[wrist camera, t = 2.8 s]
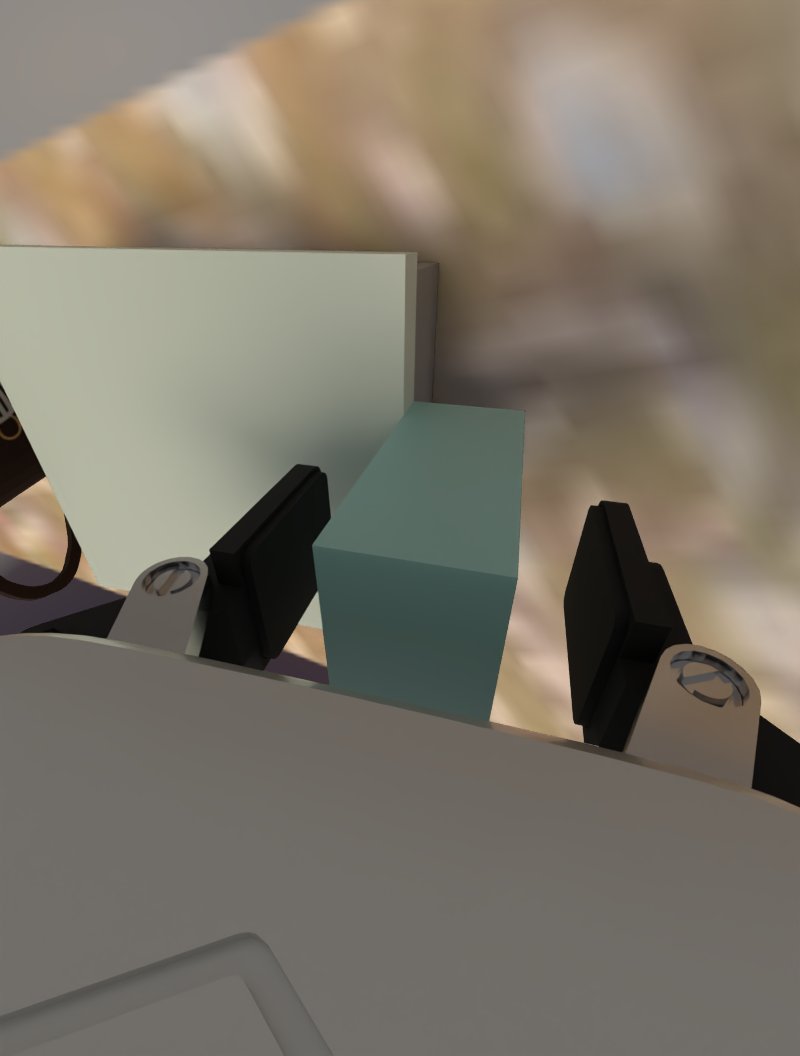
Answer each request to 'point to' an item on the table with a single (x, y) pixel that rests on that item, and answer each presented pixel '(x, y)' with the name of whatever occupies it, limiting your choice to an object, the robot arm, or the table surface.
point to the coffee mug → (6, 471)
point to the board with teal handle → (273, 441)
